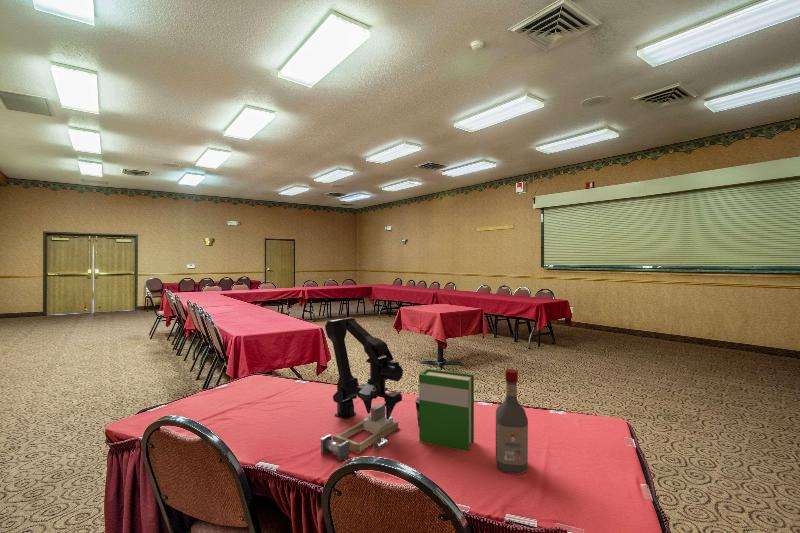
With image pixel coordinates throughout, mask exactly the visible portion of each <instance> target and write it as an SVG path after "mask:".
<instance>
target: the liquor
mask: <svg viewBox="0 0 800 533" xmlns="http://www.w3.org/2000/svg"><path fill="white" fill-rule="evenodd" d="M504 373H505V374H504V375H505V376H504V377H505V382H506V386H505V388H506V391H505V392H506V393H505V394H506V395H505V399H504V401H503V402H502V403H501V404H499V405H498V407H496V410H495V462H496V467H497V469H498V470H500V471H501V472H503V473H506V472H508V474H517V473H521V474H523V473H525V472H527V471H528V468H529V466H528V465H529V462H528V458H529V457H528V456H529V455H528V454H529V452H528V451H529V450H528V448H529V447H528V446H529V439H528V438H529V420H528V416H527V414H526V411H525V408H524V407H523V406H522V405H521V403H520V402H519V401H518V392H517V391H518V388H517V386H518V384H517V383H518V380H519V377H518V376H519V375H518V370H517V369H512V368H508V369H505V372H504ZM524 471H525V472H524ZM522 472H523V473H522Z"/></svg>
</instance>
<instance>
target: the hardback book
mask: <svg viewBox="0 0 800 533" xmlns="http://www.w3.org/2000/svg"><path fill="white" fill-rule="evenodd" d="M418 397H419V426H418V428H419V433H418V434H419V435H418V437H419V443H420V442H422V443H425V444H430V443H431V444H432V445H434V444H435V446H439V447H444V448H449V449H454V450H458V451H463V452H467V453H468V452H469V451H470V444H474V442H475V416H474V414H475V374H474V373H473V374H472V373H463V372H457V371H450V370H442V369H434V368H425V369H424V370H423V371H422V372H420V373H419V374H418ZM431 444H430V445H431Z"/></svg>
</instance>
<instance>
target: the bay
mask: <svg viewBox="0 0 800 533" xmlns="http://www.w3.org/2000/svg"><path fill="white" fill-rule="evenodd" d="M398 428H399V421H398V420H393V423H391V424H389V425H388V426H386V427H385V428H383V429H381V430H380V431H378V432H376V433H375V434H374V433H372V434H371V435H370V436H368V437H367V438H365V439H363V440H362V441H360V442H357V441H355V440H351V439H349V438H351V437H352V436H354V435H356V434H357V433H359V432H361V431H363V430H362V429H363V420H362V421H360V422H358V423H356V424H355V425H353V426H351V427H348V428H347V429H345V430H344V431H341V432H340V433H338V434H332V441H335V442H337V443H340V444H342V443H343V442H345V441H349V450H350V451H349V452H352V451H353V452H352V453H354V452H356V453H355V454H357V453H358V452H359V453H361V452H362V450H363V449H364V450H366V449H367V448H369V447H370V446H372V445H374V440H378V438H379V437H381V438H383V439H384V438H385V437H386V436H388V435H389V434H391V433H392V432H395V431H396V430H397V429H398ZM348 437H349V438H348ZM368 446H369V447H368ZM365 448H366V449H365ZM364 450H363V451H364ZM360 451H361V452H360ZM359 453H358V454H359Z"/></svg>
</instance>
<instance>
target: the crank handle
mask: <svg viewBox="0 0 800 533" xmlns="http://www.w3.org/2000/svg"><path fill="white" fill-rule="evenodd" d="M387 445H389V440H387V439H386V438H384V437H383V438H381V437H379V438H378V440H374V444H373V451H378V450H380V449H382V448H384V447H386V446H387Z"/></svg>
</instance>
